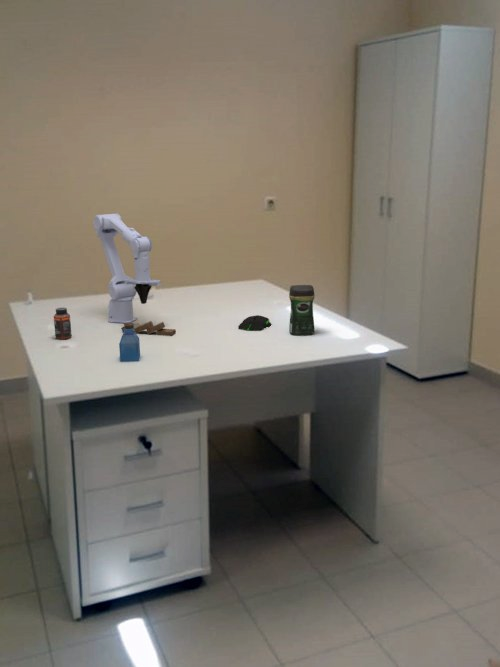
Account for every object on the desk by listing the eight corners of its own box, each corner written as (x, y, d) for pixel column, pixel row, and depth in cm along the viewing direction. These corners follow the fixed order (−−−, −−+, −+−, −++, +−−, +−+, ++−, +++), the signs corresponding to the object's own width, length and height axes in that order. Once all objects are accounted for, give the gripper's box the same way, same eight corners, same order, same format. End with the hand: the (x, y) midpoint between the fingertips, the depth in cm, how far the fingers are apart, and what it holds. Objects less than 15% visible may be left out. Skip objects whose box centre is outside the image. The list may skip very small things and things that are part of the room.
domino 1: (133, 328, 273) (146, 323, 271) (138, 326, 277) (151, 320, 275) (136, 333, 274) (148, 328, 271) (140, 331, 277) (153, 325, 275)
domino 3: (156, 330, 271) (171, 332, 269) (160, 328, 275) (175, 329, 273) (156, 336, 271) (171, 337, 270) (161, 333, 275) (175, 334, 274)
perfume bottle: (121, 356, 245) (119, 322, 242) (140, 355, 245) (138, 321, 242) (120, 361, 239) (118, 327, 236) (138, 361, 240) (137, 326, 236)
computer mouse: (277, 323, 289) (277, 313, 288) (263, 333, 274) (263, 323, 273) (251, 320, 293) (251, 311, 292) (236, 330, 278) (235, 320, 277)
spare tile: (121, 327, 275) (134, 323, 273) (125, 325, 278) (138, 320, 276) (123, 332, 275) (136, 327, 273) (127, 330, 279) (140, 325, 277)
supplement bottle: (74, 336, 270) (72, 307, 267) (66, 340, 265) (63, 310, 262) (61, 335, 272) (59, 306, 269) (52, 339, 267) (49, 309, 264)
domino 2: (146, 329, 272) (159, 324, 270) (149, 327, 276) (163, 321, 274) (148, 334, 272) (161, 328, 270) (152, 331, 276) (165, 326, 274)
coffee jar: (312, 330, 277) (313, 282, 272) (315, 335, 269) (316, 287, 264) (287, 330, 276) (288, 283, 271) (289, 336, 269) (290, 287, 264)
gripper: (120, 269, 274) (122, 304, 278) (155, 271, 270) (156, 306, 274) (128, 266, 281) (130, 300, 284) (162, 268, 276) (164, 302, 280)
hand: (143, 303), depth 279 cm, fingers closed
